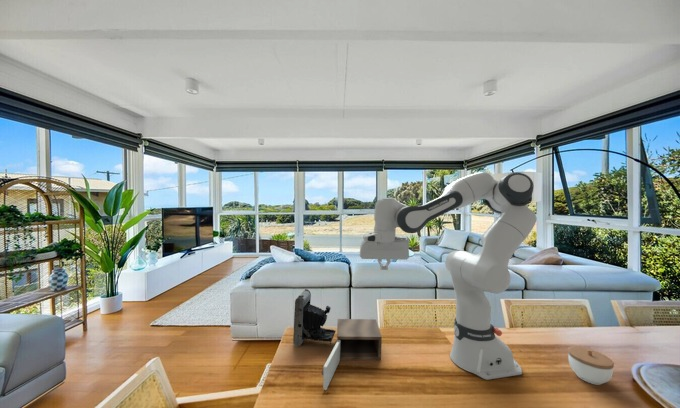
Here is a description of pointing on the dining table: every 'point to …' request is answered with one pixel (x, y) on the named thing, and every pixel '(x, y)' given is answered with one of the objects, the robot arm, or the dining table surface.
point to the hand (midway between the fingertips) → (383, 269)
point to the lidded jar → (590, 365)
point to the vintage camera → (310, 321)
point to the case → (359, 339)
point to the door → (331, 365)
